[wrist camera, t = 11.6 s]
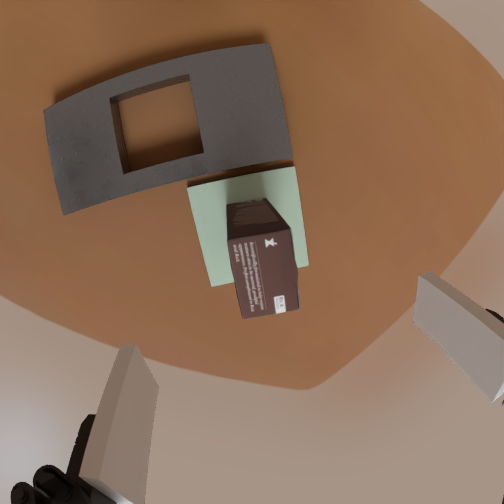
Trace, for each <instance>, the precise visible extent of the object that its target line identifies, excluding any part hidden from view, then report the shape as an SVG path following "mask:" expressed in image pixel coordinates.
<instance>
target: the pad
mask: <svg viewBox="0 0 504 504" xmlns="http://www.w3.org/2000/svg"><path fill="white" fill-rule="evenodd" d="M187 191H188V195H189V199H190V204H191V208H192V212H193V216H194V220H195V224H196V229H197V233H198V237H199V241H200V244H201V248H202V252H203V256H204V260H205V264H206V268H207V271H208V275H209V279H210V282H211V286H212V287H213V286H217V285H222V284H227V283H232V282H234V278H233V274H232V270H231V265H230V258H229V252H228V246H227V218H226V205H227V204H231V203H237V202H242V201H247V200H253V199H258V198H267V199H268V201H269V202H270V203H271V204H272V205H273V207H274V208H275V209H276V210H277V211H278V213H279V214H280V215H281V216H282V217H283V219H284V220H285V221H286V222H287V224H288V225H289V226H290V227H291V228H292V235H293V243H294V253H295V261H296V264H297V268H300V267H304V266H309V264H308V255H307V247H306V239H305V232H304V224H303V217H302V210H301V203H300V196H299V190H298V183H297V177H296V171H295V166H291V167H285V168H279V169H274V170H268V171H262V172H257V173H252V174H247V175H242V176H237V177H232V178H227V179H222V180H217V181H213V182H208V183H204V184H200V185H195V186H191V187H187Z"/></svg>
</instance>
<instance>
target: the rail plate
mask: <svg viewBox="0 0 504 504" xmlns="http://www.w3.org/2000/svg"><path fill="white" fill-rule="evenodd" d="M186 81H190V83H191V88H192V93H193V99H194V104H195V109H196V114H197V119H198V125H199V130H200V135H201V140H202V144H203V149H204V153H201V154H197V155H193V156H188V157H184V158H180V159H176V160H172V161H169V162H165V163H161V164H157V165H154V166H150V167H147V168H143V169H140V170H137V171H133V172H131V170H130V166H129V161H128V157H127V152H126V147H125V142H124V137H123V131H122V126H121V120H120V114H119V108H118V102H119V101H122V100H124V99H127V98H130V97H133V96H136V95H139V94H143V93H146V92H149V91H152V90H156V89H159V88H163V87H166V86H170V85H174V84H178V83H182V82H186ZM44 118H45V126H46V134H47V141H48V147H49V153H50V159H51V164H52V169H53V174H54V178H55V183H56V187H57V192H58V196H59V200H60V204H61V207H62V211H63V215H67V214H69V213H72V212H75V211H78V210H81V209H84V208H87V207H90V206H93V205H96V204H99V203H102V202H105V201H108V200H111V199H115V198H118V197H121V196H125V195H128V194H131V193H135V192H138V191H142V190H145V189H149V188H153V187H156V186H160V185H164V184H168V183H172V182H176V181H180V180H184V179H188V178H192V177H196V176H201V175H205V174H210V173H214V172H219V171H223V170H228V169H233V168H238V167H243V166H248V165H254V164H259V163H265V162H270V161H276V160H282V159H289V158H293V154H292V149H291V143H290V138H289V132H288V127H287V122H286V116H285V111H284V106H283V101H282V97H281V92H280V87H279V82H278V78H277V73H276V69H275V65H274V60H273V56H272V52H271V47H270V43H263V44H253V45H244V46H237V47H230V48H224V49H218V50H212V51H207V52H202V53H197V54H192V55H188V56H183V57H179V58H175V59H171V60H168V61H164V62H160V63H157V64H153V65H150V66H147V67H143V68H140V69H137V70H134V71H131V72H128V73H125V74H123V75H120V76H117V77H114V78H112V79H109V80H107V81H104V82H102V83H99V84H97V85H94V86H92V87H90V88H87V89H85V90H83V91H81V92H78V93H76V94H74V95H72V96H70V97H68V98H66V99H64V100H62V101H60V102H58V103H56V104H54V105H52V106H50V107H48V108H46V109H45V110H44Z"/></svg>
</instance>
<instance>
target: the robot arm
mask: <svg viewBox="0 0 504 504" xmlns="http://www.w3.org/2000/svg"><path fill="white" fill-rule="evenodd" d="M413 322H414V323H415V324H416V325H417V326H418V327H419V328H420V329H421V330H422V331H423V332H424V333H425V334H426V335H427V336H428V337H429V338H430V339H431V340H432V341H433V342H435V344H436V345H437V346H438V347H439V348H440V349H441V350H442V351H443V352H444V353H445V354H446V355H447V356H448V357H449V358H450V359H451V360H452V361H453V362H454V363H455V364H456V365H457V366H458V367H459V368H460V369H461V370H462V371H463V373H465V375H466V376H467V377H468V378H469V379H470V380H471V381H472V382H473V383H474V384H475V386H476V387H477V388H478V389H479V390H480V391H481V392H482V393H483V394H484V395H485V397H486V398H487V399H488V400H489V401H490V402H491V403H492V402H494V401H495V400H496V399H497V398H499V397H500V396H501V395H502V394H503V392H504V318H503V317H501V316H500V315H499V314H497V313H496V312H494V311H491V310H489V309H484V308H482V307H481V306H480V305H478V304H477V303H476V302H474V301H473V300H471V299H470V298H469V297H467V296H466V295H464V294H463V293H462V292H460V291H459V290H457V289H456V288H454V287H453V286H452V285H450V284H449V283H447V282H445V281H444V280H443V279H441V278H440V277H438V276H437V275H435V274H434V273H432V272H431V271H428V272H425V273H423V274H420V275H418V286H417V296H416V304H415V312H414V319H413ZM158 389H159V386H158V384H157V383H156V381H155V379H154V377H153V375H152V373H151V372H150V370H149V368H148V366H147V364H146V362H145V360H144V358H143V356H142V354H141V352H140V350H139V348H138V346H137V344H129V345H121V347H120V349H119V352H118V355H117V357H116V360H115V362H114V365H113V368H112V370H111V373H110V376H109V379H108V381H107V384H106V387H105V390H104V393H103V395H102V399H101V401H100V404H99V407H98V411H97V413H96V415H93V414H89V415H88V416H87V418H86V419H85V420H84V421H83V422H82V424H81V426H80V429H79V432H78V437H77V438H76V442H75V444H76V445H74V448H73V451H72V455H71V458H70V461H69V465H68V469H67V472H66V474H64V473H63V472H62V471H61V470H60V469H58V468H57V467H55V466H53V465H45V466H42V467H41V468H39V469H38V470H37V471H36V473H35V475H34V478H33V487H34V488H33V487H32V486H31V485H29V484H28V483H26V482H19V483H17V484H16V485H15V486H14V487H13V489H12V491H11V504H117V503H118V504H145V494H146V481H147V471H148V461H149V453H150V445H151V437H152V429H153V422H154V414H155V408H156V402H157V395H158ZM502 406H504V400H503V402H502ZM502 504H504V497H503V502H502Z"/></svg>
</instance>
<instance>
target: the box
mask: <svg viewBox="0 0 504 504" xmlns="http://www.w3.org/2000/svg"><path fill="white" fill-rule="evenodd" d="M226 218H227V246H228V252H229V258H230V265H231V270H232V274H233V278H234V283H235V287H236V293H237V298H238V302H239V306H240V310H241V314H242V318H243V319H249V318H255V317H261V316H266V315H271V314H277V313H282V312H287V311H293V310H298V309H299V308H300V300H299V291H298V268H297V264H296V261H295V253H294V243H293V235H292V228H291V227H290V226H289V225H288V224H287V222H286V221H285V220H284V219H283V217H282V216H281V215H280V214H279V213H278V211H277V210H276V209H275V208H274V207H273V205H272V204H271V203H270V202H269V201H268V199H267V198H258V199H253V200H247V201H242V202H237V203H231V204H227V205H226Z"/></svg>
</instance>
